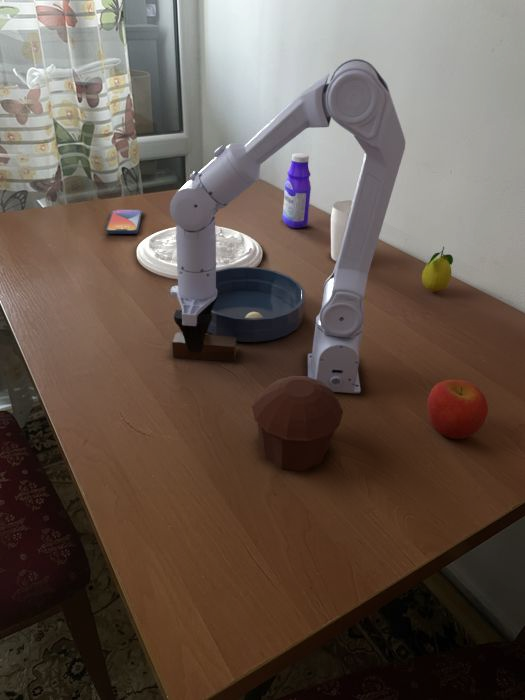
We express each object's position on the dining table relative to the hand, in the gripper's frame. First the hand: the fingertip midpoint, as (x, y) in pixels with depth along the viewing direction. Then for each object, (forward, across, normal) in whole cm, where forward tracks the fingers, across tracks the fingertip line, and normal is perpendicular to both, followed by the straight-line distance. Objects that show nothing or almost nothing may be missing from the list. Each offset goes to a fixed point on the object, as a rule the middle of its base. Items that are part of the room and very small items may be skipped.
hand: (198, 341), depth 88 cm
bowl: (+2, -14, +7) cm, 16 cm away
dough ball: (0, -8, +8) cm, 11 cm away
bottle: (+3, -62, +15) cm, 64 cm away
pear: (+3, -29, +44) cm, 53 cm away
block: (+2, 0, +1) cm, 3 cm away
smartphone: (+3, -54, -27) cm, 60 cm away
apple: (+3, +14, +38) cm, 41 cm away
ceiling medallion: (+3, -40, -6) cm, 41 cm away
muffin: (+3, +20, +16) cm, 26 cm away
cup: (+3, -43, +27) cm, 51 cm away
